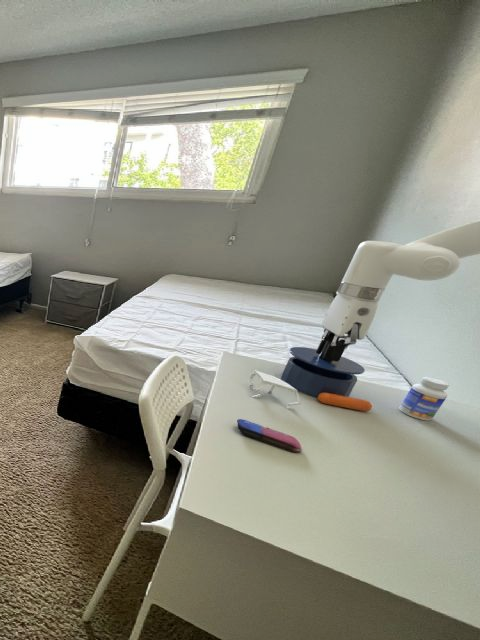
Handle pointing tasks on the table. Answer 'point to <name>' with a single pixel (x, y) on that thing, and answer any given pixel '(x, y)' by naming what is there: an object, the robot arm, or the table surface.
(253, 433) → the eraser
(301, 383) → the pot
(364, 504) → the table surface
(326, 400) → the carrot
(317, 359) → the pot lid
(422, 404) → the pill bottle
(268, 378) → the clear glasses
